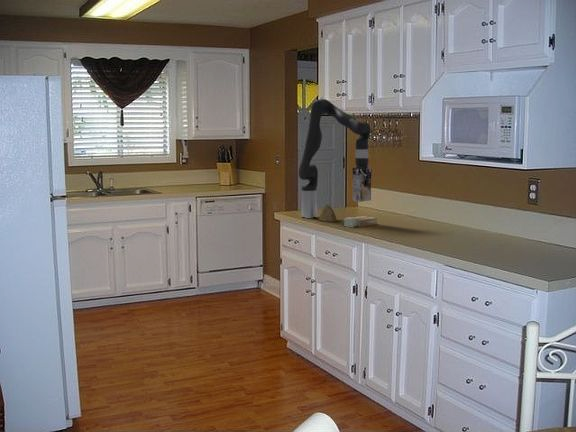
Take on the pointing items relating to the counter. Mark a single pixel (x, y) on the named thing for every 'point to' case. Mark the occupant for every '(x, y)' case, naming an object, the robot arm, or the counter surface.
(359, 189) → the coffee box
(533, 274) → the counter surface
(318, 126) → the robot arm
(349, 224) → the sage cube
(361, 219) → the oak block
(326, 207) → the rock
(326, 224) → the counter surface
